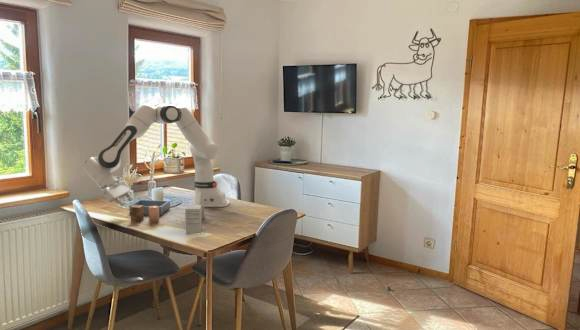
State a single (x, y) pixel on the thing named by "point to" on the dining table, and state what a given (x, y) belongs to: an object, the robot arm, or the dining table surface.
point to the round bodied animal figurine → (202, 211)
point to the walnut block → (137, 213)
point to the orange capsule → (153, 214)
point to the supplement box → (193, 218)
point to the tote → (163, 205)
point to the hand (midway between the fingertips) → (127, 202)
